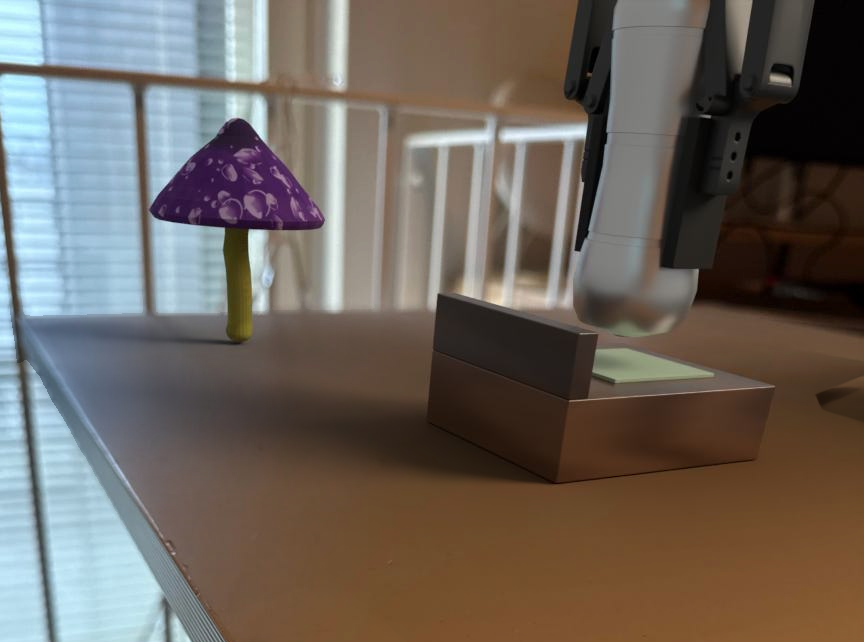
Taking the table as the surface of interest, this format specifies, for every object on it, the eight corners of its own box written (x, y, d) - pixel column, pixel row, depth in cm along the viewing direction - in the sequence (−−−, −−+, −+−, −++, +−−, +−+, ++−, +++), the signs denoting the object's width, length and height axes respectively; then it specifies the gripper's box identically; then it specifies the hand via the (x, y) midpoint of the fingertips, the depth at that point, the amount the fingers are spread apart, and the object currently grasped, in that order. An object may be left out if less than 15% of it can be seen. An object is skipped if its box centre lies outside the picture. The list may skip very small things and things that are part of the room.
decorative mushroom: (245, 323, 80) (245, 120, 74) (355, 348, 73) (366, 127, 67) (119, 336, 72) (106, 107, 65) (231, 366, 65) (229, 114, 58)
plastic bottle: (557, 337, 50) (626, -149, 41) (573, 320, 56) (637, -109, 47) (684, 352, 48) (786, -149, 39) (688, 332, 54) (776, -108, 45)
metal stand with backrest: (611, 406, 62) (631, 292, 58) (757, 459, 52) (790, 327, 49) (425, 421, 55) (436, 292, 52) (555, 484, 46) (578, 333, 43)
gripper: (532, -291, 45) (478, 238, 56) (891, -477, 31) (726, 285, 41) (651, -250, 49) (579, 241, 59) (1023, -401, 34) (841, 285, 45)
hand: (639, 258), depth 50 cm, fingers closed on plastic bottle, 6 cm apart
